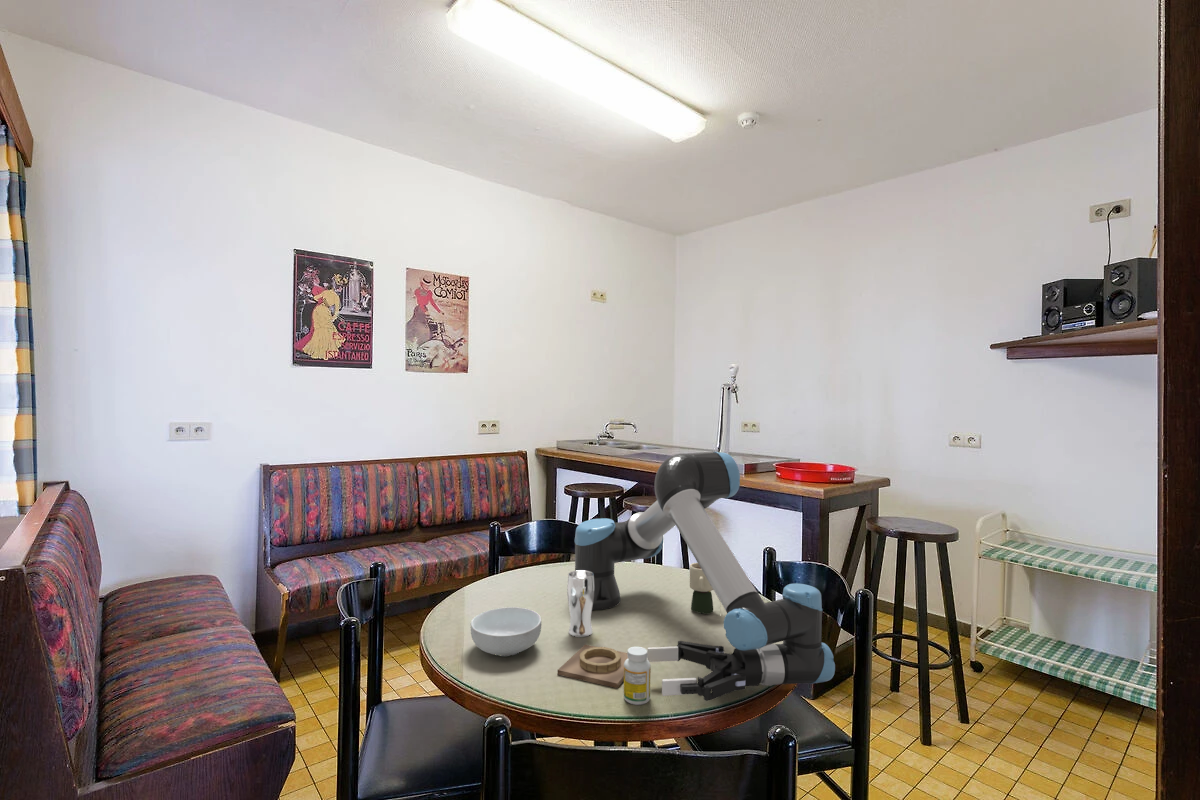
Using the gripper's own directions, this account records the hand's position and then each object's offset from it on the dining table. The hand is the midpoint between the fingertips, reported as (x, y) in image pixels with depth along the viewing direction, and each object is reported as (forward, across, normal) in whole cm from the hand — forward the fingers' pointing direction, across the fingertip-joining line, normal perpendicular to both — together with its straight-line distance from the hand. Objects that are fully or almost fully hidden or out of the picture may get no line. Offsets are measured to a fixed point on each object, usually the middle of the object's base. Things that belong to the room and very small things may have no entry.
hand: (654, 670), depth 114 cm
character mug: (-23, +44, -6) cm, 50 cm away
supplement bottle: (+3, +1, -6) cm, 7 cm away
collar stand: (+9, +14, -6) cm, 18 cm away
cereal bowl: (+30, +26, -6) cm, 40 cm away
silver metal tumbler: (+12, +34, -6) cm, 36 cm away
